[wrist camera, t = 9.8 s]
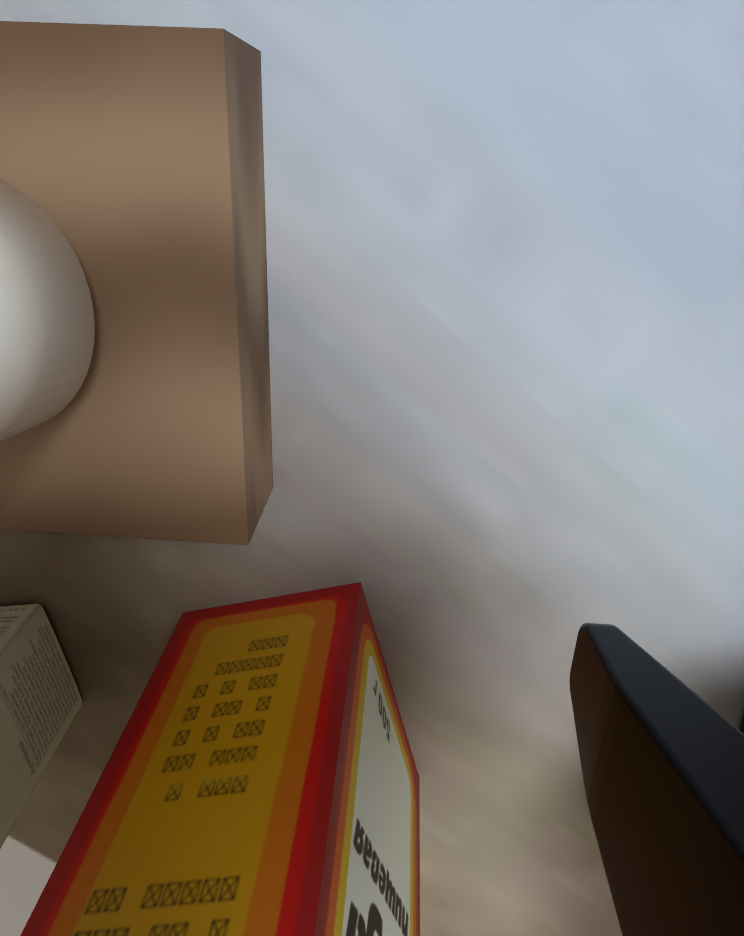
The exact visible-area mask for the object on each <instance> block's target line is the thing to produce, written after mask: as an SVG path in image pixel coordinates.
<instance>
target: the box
mask: <svg viewBox="0 0 744 936" xmlns="http://www.w3.org/2000/svg"><path fill="white" fill-rule="evenodd" d="M81 706H82V699H81V696H80V693H79V691H78V688H77V685H76V683H75V680H74V678H73V675H72V673H71V671H70V668H69V666H68V663H67V661H66V659H65V657H64V654H63V652H62V649H61V647H60V645H59V642H58V640H57V638H56V635H55V633H54V631H53V629H52V627H51V624H50V622H49V620H48V618H47V615H46V613H45V611H44V609H43V607H42V606H41V605H39V604H28V605H13V606H3V607H0V848H1V847H2V845H3V843H4V841H5V840H6V838H7V836H8V834H9V832H10V831H11V829H12V827H13V825H14V824H15V822H16V820H17V818H18V817H19V815H20V813H21V811H22V810H23V808H24V806H25V804H26V802H27V801H28V799H29V797H30V795H31V794H32V792H33V790H34V788H35V787H36V785H37V783H38V781H39V780H40V778H41V776H42V774H43V773H44V771H45V769H46V767H47V765H48V764H49V762H50V760H51V758H52V757H53V755H54V753H55V751H56V750H57V748H58V746H59V744H60V743H61V741H62V739H63V737H64V736H65V734H66V732H67V730H68V729H69V727H70V725H71V724H72V722H73V720H74V718H75V716H76V715H77V713H78V711H79V709H80V708H81Z"/></svg>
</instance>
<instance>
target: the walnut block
mask: <svg viewBox="0 0 744 936" xmlns="http://www.w3.org/2000/svg"><path fill="white" fill-rule="evenodd" d="M0 179H2V180H4V181H6V182H8V183H10V184H12V185H13V186H15V187H16V188H17V189H19V190H20V191H22V192H23V193H25V194H26V195H28V196H29V197H30V198H31V199H32V200H33V201H34V202H36V203H37V204H38V205H39V206H40V207H41V208H42V209H43V210H44V211H45V212H46V213H47V214H48V215H49V216H50V218H51V219H52V220H53V221H54V222H55V223H56V225H57V226H58V227H59V229H60V230H61V231H62V233H63V234H64V236H65V237H66V238H67V240H68V242H69V244H70V245H71V247H72V249H73V250H74V252H75V254H76V256H77V258H78V260H79V263H80V265H81V267H82V269H83V272H84V274H85V278H86V281H87V284H88V287H89V290H90V295H91V300H92V305H93V311H94V323H95V334H94V347H93V353H92V359H91V362H90V366H89V369H88V372H87V375H86V377H85V379H84V381H83V383H82V385H81V388H80V389H79V390H78V392H77V393H76V395H75V396H74V398H73V399H72V400H71V401H70V402H69V404H68V405H67V406H66V407H65V408H64V409H63V410H62V411H60V412H59V413H58V414H56V415H55V416H54V417H52V418H51V419H49V420H47V421H45V422H43V423H41V424H39V425H37V426H35V427H32V428H30V429H28V430H25V431H23V432H21V433H18V434H16V435H14V436H11V437H9V438H7V439H5V440H2V441H0V529H8V530H24V531H39V532H55V533H70V534H86V535H101V536H117V537H132V538H148V539H163V540H179V541H194V542H210V543H225V544H241V545H249V542H250V540H251V537H252V535H253V533H254V530H255V528H256V526H257V523H258V521H259V519H260V516H261V514H262V512H263V509H264V507H265V505H266V502H267V500H268V498H269V495H270V493H271V491H272V488H273V469H272V435H271V400H270V365H269V330H268V295H267V260H266V225H265V190H264V155H263V120H262V85H261V51H259V50H257V49H256V48H254V47H253V46H251V45H249V44H248V43H246V42H244V41H243V40H241V39H239V38H238V37H236V36H234V35H233V34H231V33H230V32H228V31H226V30H225V29H216V28H187V27H157V26H128V25H98V24H69V23H40V22H10V21H0Z"/></svg>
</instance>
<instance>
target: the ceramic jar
mask: <svg viewBox="0 0 744 936" xmlns="http://www.w3.org/2000/svg"><path fill="white" fill-rule="evenodd" d="M94 334H95V323H94V311H93V305H92V300H91V295H90V290H89V287H88V284H87V281H86V278H85V274H84V272H83V269H82V267H81V265H80V263H79V260H78V258H77V256H76V254H75V252H74V250H73V249H72V247H71V245H70V244H69V242H68V240H67V238H66V237H65V236H64V234H63V233H62V231H61V230H60V229H59V227H58V226H57V225H56V223H55V222H54V221H53V220H52V219H51V218H50V216H49V215H48V214H47V213H46V212H45V211H44V210H43V209H42V208H41V207H40V206H39V205H38V204H37V203H36V202H34V201H33V200H32V199H31V198H30V197H29V196H28V195H26V194H25V193H23V192H22V191H20V190H19V189H17V188H16V187H15V186H13V185H12V184H10V183H8V182H6V181H4V180H2V179H0V441H2V440H5V439H7V438H9V437H11V436H14V435H16V434H18V433H21V432H23V431H25V430H28V429H30V428H32V427H35V426H37V425H39V424H41V423H43V422H45V421H47V420H49V419H51V418H52V417H54V416H55V415H56V414H58V413H59V412H60V411H62V410H63V409H64V408H65V407H66V406H67V405H68V404H69V402H70V401H71V400H72V399H73V398H74V396H75V395H76V393H77V392H78V390H79V389H80V388H81V385H82V383H83V381H84V379H85V377H86V375H87V372H88V369H89V366H90V362H91V359H92V353H93V347H94Z"/></svg>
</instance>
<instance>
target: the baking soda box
mask: <svg viewBox="0 0 744 936" xmlns="http://www.w3.org/2000/svg"><path fill="white" fill-rule="evenodd" d="M21 936H420V840H419V775H418V772H417V769H416V765H415V762H414V759H413V755H412V752H411V749H410V745H409V742H408V739H407V735H406V732H405V729H404V725H403V722H402V719H401V715H400V712H399V709H398V705H397V702H396V699H395V695H394V692H393V689H392V685H391V682H390V679H389V675H388V672H387V669H386V665H385V662H384V659H383V655H382V652H381V649H380V645H379V642H378V639H377V635H376V632H375V629H374V625H373V622H372V619H371V615H370V612H369V609H368V605H367V602H366V599H365V595H364V592H363V589H362V585H361V582H360V583H354V584H348V585H342V586H336V587H330V588H325V589H319V590H313V591H307V592H301V593H295V594H290V595H284V596H278V597H272V598H266V599H260V600H255V601H249V602H243V603H237V604H231V605H225V606H220V607H214V608H208V609H202V610H196V611H190V612H185V613H183V614H182V616H181V618H180V620H179V622H178V624H177V626H176V628H175V630H174V632H173V634H172V636H171V638H170V640H169V642H168V644H167V646H166V648H165V650H164V652H163V654H162V656H161V658H160V660H159V662H158V664H157V666H156V668H155V670H154V672H153V674H152V676H151V678H150V680H149V682H148V684H147V686H146V688H145V690H144V692H143V693H142V695H141V697H140V699H139V701H138V703H137V705H136V707H135V709H134V711H133V713H132V715H131V717H130V719H129V721H128V723H127V725H126V727H125V729H124V731H123V733H122V735H121V737H120V739H119V741H118V743H117V745H116V747H115V749H114V751H113V753H112V755H111V757H110V759H109V761H108V763H107V765H106V767H105V769H104V771H103V773H102V775H101V777H100V779H99V781H98V783H97V785H96V787H95V789H94V791H93V793H92V795H91V797H90V799H89V801H88V803H87V805H86V807H85V809H84V811H83V813H82V815H81V817H80V819H79V821H78V822H77V824H76V826H75V828H74V830H73V832H72V834H71V836H70V838H69V840H68V842H67V844H66V846H65V848H64V850H63V852H62V854H61V856H60V858H59V860H58V862H57V864H56V866H55V868H54V870H53V872H52V874H51V876H50V878H49V880H48V882H47V884H46V886H45V888H44V890H43V892H42V894H41V896H40V898H39V900H38V902H37V904H36V906H35V908H34V910H33V912H32V914H31V916H30V918H29V920H28V922H27V924H26V926H25V928H24V930H23V932H22V934H21Z"/></svg>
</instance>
